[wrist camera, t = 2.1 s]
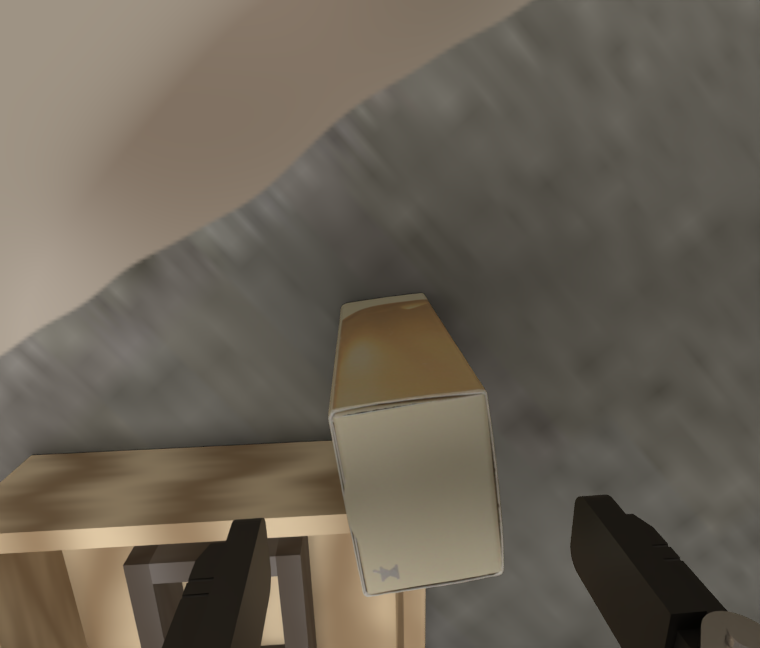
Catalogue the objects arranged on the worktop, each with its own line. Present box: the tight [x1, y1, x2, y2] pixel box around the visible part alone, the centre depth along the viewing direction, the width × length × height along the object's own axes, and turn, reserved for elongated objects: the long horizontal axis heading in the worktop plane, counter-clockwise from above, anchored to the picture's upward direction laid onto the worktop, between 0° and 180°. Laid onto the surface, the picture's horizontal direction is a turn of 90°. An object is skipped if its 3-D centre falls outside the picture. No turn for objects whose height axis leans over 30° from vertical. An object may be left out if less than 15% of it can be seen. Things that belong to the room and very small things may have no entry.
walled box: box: [0, 441, 425, 648], centre depth 26 cm, size 20×18×6 cm
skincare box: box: [328, 293, 504, 597], centre depth 19 cm, size 6×4×12 cm
